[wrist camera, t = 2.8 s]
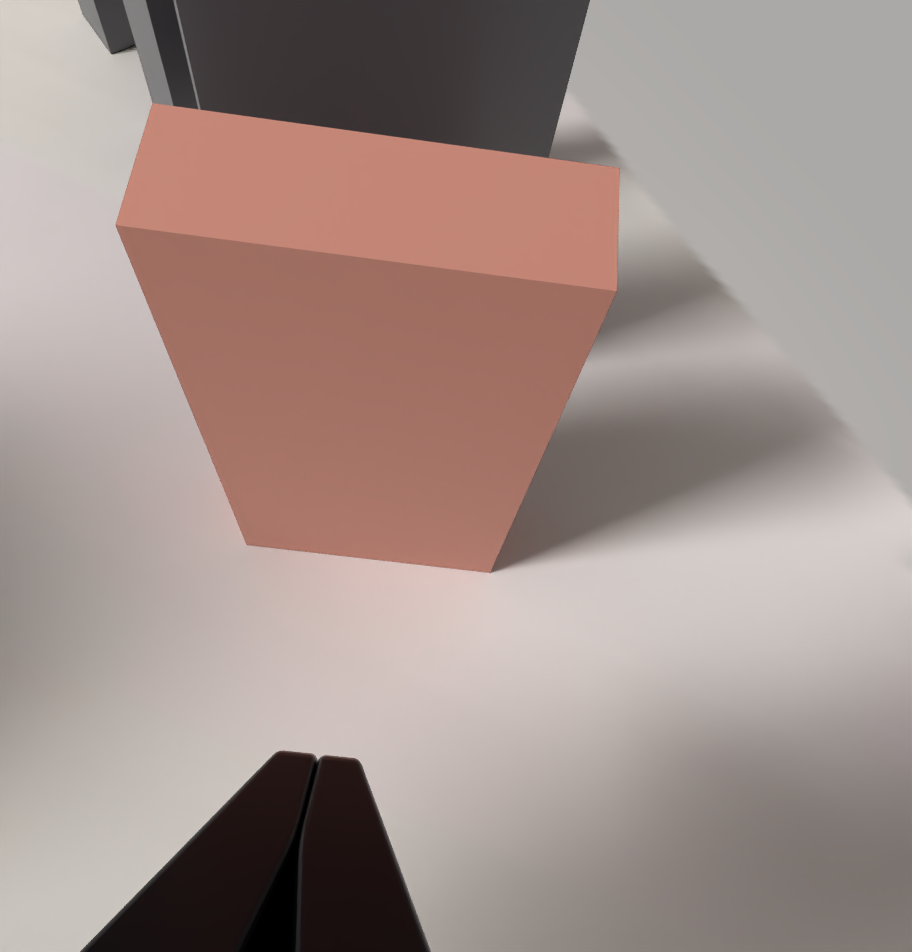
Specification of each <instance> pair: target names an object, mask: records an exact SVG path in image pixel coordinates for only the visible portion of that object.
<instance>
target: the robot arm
mask: <svg viewBox="0 0 912 952" xmlns="http://www.w3.org/2000/svg"><path fill="white" fill-rule="evenodd" d="M80 952H431V951H430V948H429V946H428V943H427V940H426V937H425V935H424V932H423V929H422V927H421V924H420V921H419V919H418V916H417V913H416V910H415V908H414V905H413V902H412V900H411V897H410V894H409V891H408V889H407V886H406V883H405V881H404V878H403V875H402V872H401V870H400V867H399V864H398V862H397V859H396V856H395V854H394V851H393V848H392V845H391V843H390V840H389V837H388V835H387V832H386V829H385V826H384V824H383V821H382V818H381V816H380V813H379V810H378V808H377V805H376V802H375V799H374V797H373V794H372V791H371V789H370V786H369V783H368V780H367V778H366V775H365V772H364V770H363V767H362V765H361V763H360V761H359V760H357V759H355V758H348V757H338V756H329V755H324V756H322V757H321V758H320V759H319V760H317V758H316V756H315V755H314V754H310V753H301V752H292V751H279V752H276V753H275V754H274V755H273V756H272V757H271V758H270V759H269V760H268V761H267V762H266V763H265V764H264V765H263V766H262V767H261V768H260V769H259V770H258V771H257V772H256V773H255V774H254V775H253V776H252V777H251V778H250V779H249V780H248V781H247V782H246V783H245V784H244V785H243V786H242V787H241V788H240V789H239V790H238V791H237V792H236V793H235V794H234V795H233V796H232V797H231V798H230V799H229V801H228V802H227V803H226V804H225V805H224V806H223V807H222V808H221V809H220V810H219V811H218V812H217V813H216V814H215V815H214V816H213V817H212V818H211V819H210V820H209V821H208V822H207V823H206V824H205V825H204V826H203V827H202V828H201V829H200V830H199V831H198V832H197V833H196V834H195V835H194V836H193V837H192V838H191V839H190V840H189V841H188V842H187V843H186V844H185V845H184V846H183V847H182V848H181V849H180V850H179V851H178V852H177V854H176V855H175V856H174V857H173V858H172V859H171V860H170V861H169V862H168V863H167V864H166V865H165V866H164V867H163V868H162V869H161V870H160V871H159V872H158V873H157V874H156V875H155V876H154V877H153V878H152V879H151V880H150V881H149V882H148V883H147V884H146V885H145V886H144V887H143V888H142V889H141V890H140V891H139V892H138V893H137V894H136V895H135V896H134V897H133V898H132V899H131V900H130V901H129V902H128V903H127V904H126V905H125V906H124V908H123V909H122V910H121V911H120V912H119V913H118V914H117V915H116V916H115V917H114V918H113V919H112V920H111V921H110V922H109V923H108V924H107V925H106V926H105V927H104V928H103V929H102V930H101V931H100V932H99V933H98V934H97V935H96V936H95V937H94V938H93V939H92V940H91V941H90V942H89V943H88V944H87V945H86V946H85V947H84V948H83V949H82V950H81V951H80Z"/></svg>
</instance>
